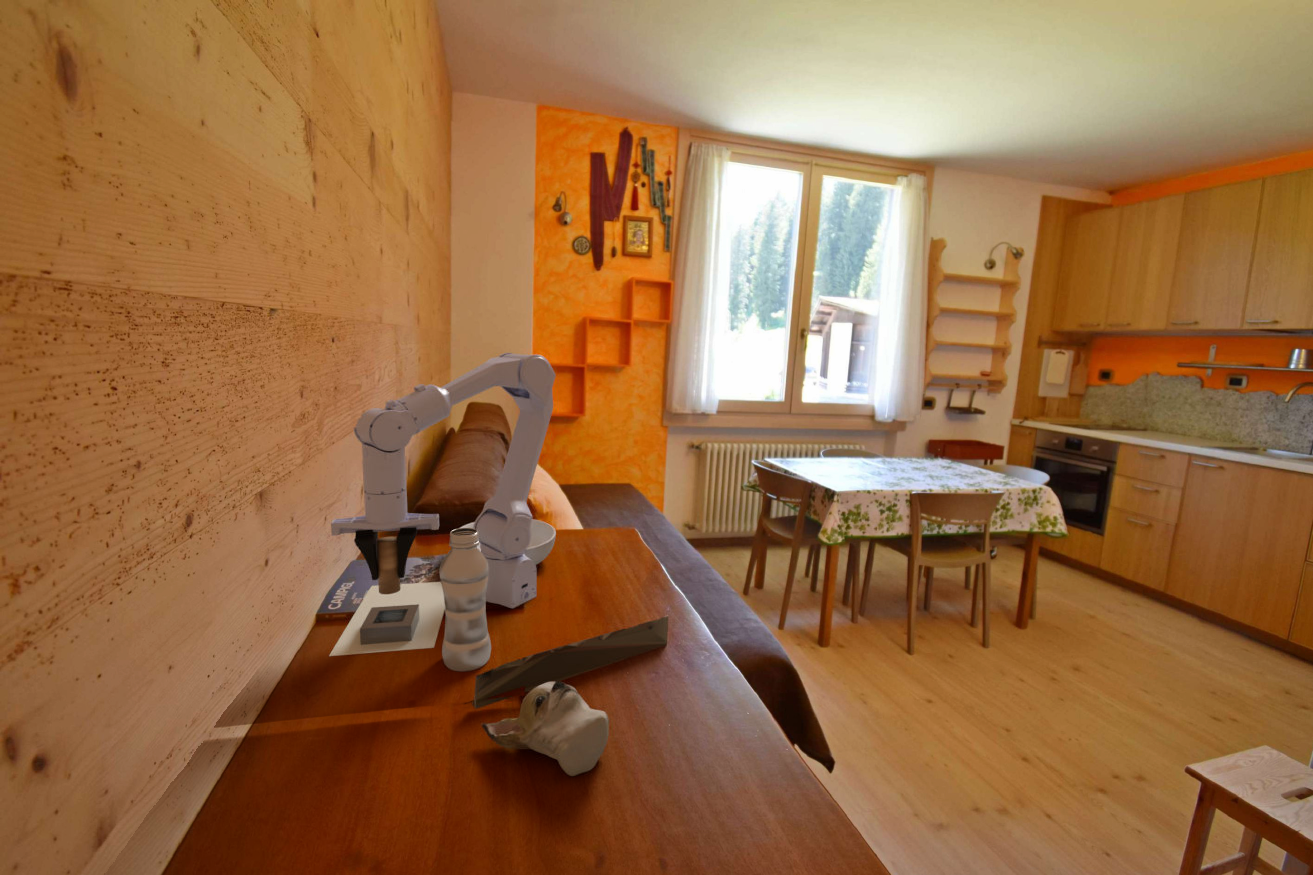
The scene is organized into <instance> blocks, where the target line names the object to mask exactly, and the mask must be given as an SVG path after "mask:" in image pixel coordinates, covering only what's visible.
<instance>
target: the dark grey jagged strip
mask: <svg viewBox="0 0 1313 875" xmlns="http://www.w3.org/2000/svg"><path fill="white" fill-rule="evenodd" d="M668 630H669V615H664V616H662V617H660V618H658V619H655V620H649V621H646V622H641V623H638V624H637V625H634V626H630V627H628V628H621V629H617V630H614V631H611V632H607V633H604V634H601V635H597V636H593V637H590V638H587V639H583V640H579V641H577V642H576V641H575V642H571V643H568V644H566V645H561V646H557V647H554V648H551V649H547V650H545V651H544V650H543V651H540V652H537V653H534V654H530V655H527V656H525V657H521V658H518V659H515V660H513V661H510V662H505V663H504V664H500V665H499V666H497V667H495V668H491V667H488V668H489V669H488V670H483V672H482V673H480V674H477V675H475V683H474V684H475V685H474V695H473V696H474V697H473V698H474V699H473V700H472V702H471V703H472V706H473V707H474V708H475V710H477V709H480V708H481V709H482V708H484V707H486V706H489V705H493V704H496V703H499V702H501V701H504V700H507V699H510V698H513V697H514V696H505V697H504V696H503V697H495V696H498V695H500V694H505V693H507V692H510V691H514V690H515V689H519V688H522V687H524V693H529V692H530V691H531V690H533V689H534V688H536V687H537V686H539V685H542V684H544V683H547V682H559V681H560V682H562V681H564V680H567V679H570V678H572V677H576V676H578V675H581V674H584V673H588V672H591V671H594V670H596V669H599V668H602V667H605V666H609V665H612V664H614V663H617V662H620V661H623V660H626V659H629V658H633V657H635V656H638V655H641V654H645V653H648V652H650V651H653V650H657V649H659V648H662V647H665V646H667V645H668V632H669V631H668ZM490 668H491V669H490ZM491 697H492V698H491ZM493 697H494V698H493Z"/></svg>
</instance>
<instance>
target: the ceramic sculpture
mask: <svg viewBox="0 0 1313 875" xmlns="http://www.w3.org/2000/svg"><path fill="white" fill-rule="evenodd" d="M609 723H610V719H609V715H608V714H607V713H606V711H604V710H600V709H594V708H591V707H590V706H589V704H588V703H587V702H586V701H585V700H584V699H583V698H582V696H581V695H580V694H579V693H578V690H577V689H576V688H575V687H574V686H572V685H570V684H566V683H565V682H564V681H558V682H547V683H544V684H542V685H539V686H537V687H536V688H534V689H533V690H531V691H528V692H527V694H526V695H525V697H524V698H523V699H522V703H521V706H520V709H519V715H518V717H515V718H512V717H511V718H504V719H501V720H499V721H498V722H493V723H492V722H491V723H490V722H489V723H488V722H487V723H485V722H484V723H481V727H482V728H483V731H484V732H485V733H486V735H487V736H488V737H489V738H490V740H492V741H493V742H494V743H496V745H498V746H499V747H502V748H504V749H509V750H510V749H511V750H512V749H513V750H528V749H530V750H533V751H534V752H537V753H540V754H543V755H546V756H548V757H549V758H552V759H555V760H557V762H558V764H559V766H560V767H561V769H562V770H563V771H564V772H565V774H567V775H568V776H570V777H575V776H577V775H580V774H583V773H586V772H589V771H591V770H592V769H593V768H594V767H595V766H596V764H597V762H598V760H600V757H601V756H602V755H603V753H604V751H605V748H606V746H607V743H608V741H609V740H608V739H609V734H610V733H609V732H610V731H609V729H610V727H609Z"/></svg>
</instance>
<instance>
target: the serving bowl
mask: <svg viewBox="0 0 1313 875" xmlns="http://www.w3.org/2000/svg"><path fill="white" fill-rule="evenodd" d="M474 523H475V521H474V522H470V523H467V524H464V525H462V526H461V527H459V528H473V526H474ZM530 528H531V540H530V543H529V545H528V547H527V549H526V550H525V551H524V554H525V555H526V556H527V557H528V558H529V559H531V560H532V561H533V562H534V563H535V565H536V566H537V565H538V564H540V563H541V562H543V561H544V560H545V559H546V558H547V557H548V556H549V555H550V553H551V551H553V547H554V545H555V542H556V536H557V535H556V534H557V532H556V528H555V527H554V526H552V525H551V524H549V523H547V522H545V521H543V520H538V519H533V518H532V521H531V527H530ZM477 548H478V549H479V550H480V551H481V549H480V542H479V545H478V546H477Z"/></svg>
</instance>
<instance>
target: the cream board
mask: <svg viewBox="0 0 1313 875" xmlns="http://www.w3.org/2000/svg"><path fill="white" fill-rule="evenodd" d="M417 604H419V618H420V619H419V622H418V624H417V627H416V630H415V633H414V635H413V638H412V641H402V642H390V643H377V644H364V645H361V642H360V628H361V626H362V624H363V622H364V621H365V619H366V617H367V615H368V613H369V612H370V610H371V608H372V607H387V606H402V605H417ZM444 614H445V603H444V594H443V589H442V584H441V581H433V582H429V581H428V582H416V583H415V582H414V583H400V591H398V592H396V593H393V594H380V593H379V584H378V585H377V584H376V585H371V587H370V588H369V589H368V591H367V593H366V594H365V595H364V597H363V599H362V601H361V602H360V604H359V606H358V608H356V611H355V612H354V614H353V616H352V617H351V619H350V620H349V623H348V624H347V626H346V627H345V629H344V630H343V632H342V633H341V635H340V637H339V638H338V640H337V642H336V643H335V645H334V647H333V649H332V650H331V652H330V654H329V655H328V657H336V656H347V655H349V656H350V655H361V654H373V653H384V652H385V653H387V652H397V651H409V650H410V651H411V650H421V649H423V650H424V649H432V648H433V649H435V645H436V641H437V638H438V634H439V630H440V627H441V623H442V620H443V617H444Z"/></svg>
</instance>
